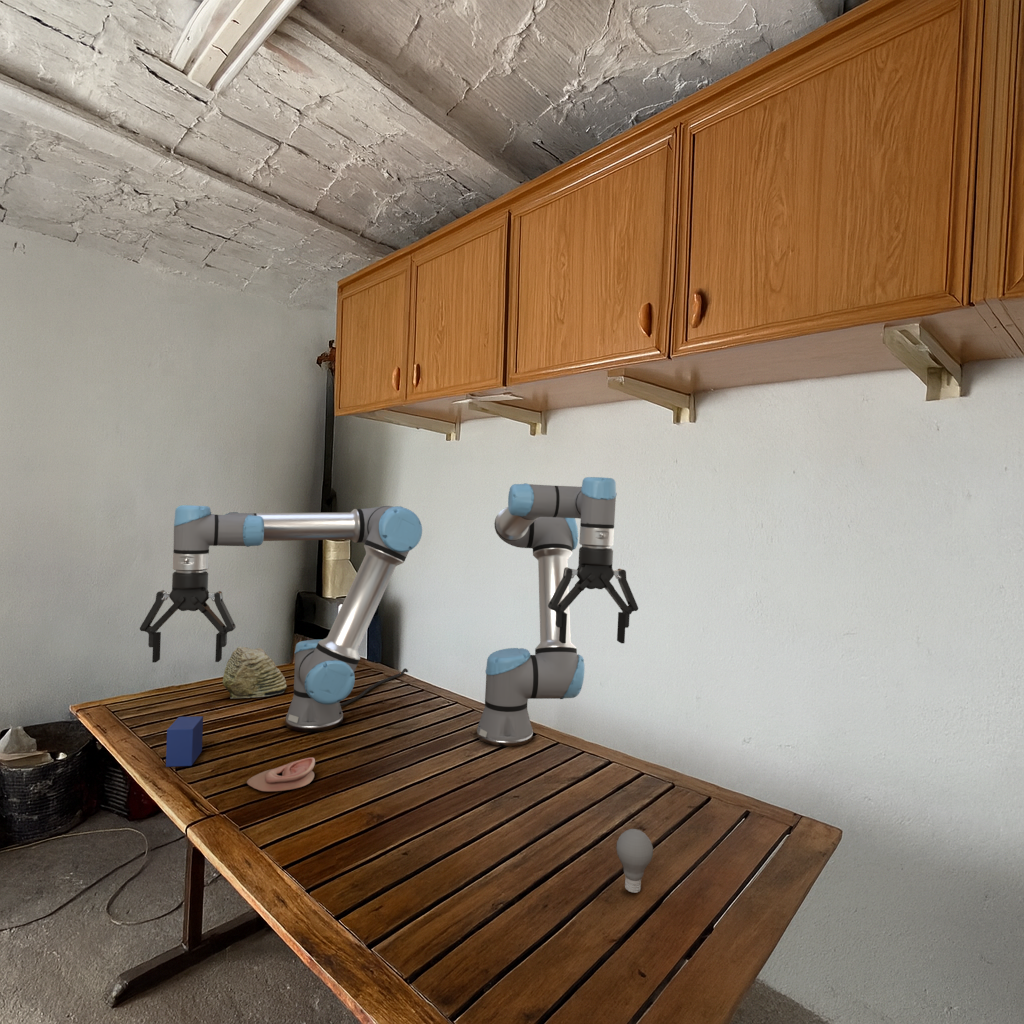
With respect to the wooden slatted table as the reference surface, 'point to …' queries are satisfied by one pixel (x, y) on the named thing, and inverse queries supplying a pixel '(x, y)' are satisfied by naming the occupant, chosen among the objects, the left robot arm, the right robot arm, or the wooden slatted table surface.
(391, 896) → the wooden slatted table surface
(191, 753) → the block
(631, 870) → the light bulb
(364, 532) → the left robot arm
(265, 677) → the fossil
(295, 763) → the anatomical model
